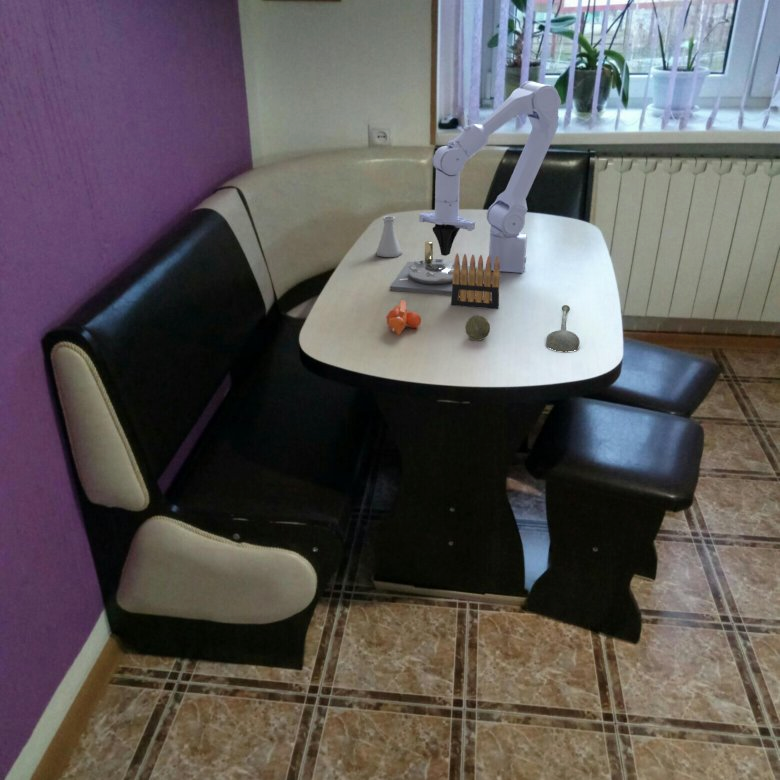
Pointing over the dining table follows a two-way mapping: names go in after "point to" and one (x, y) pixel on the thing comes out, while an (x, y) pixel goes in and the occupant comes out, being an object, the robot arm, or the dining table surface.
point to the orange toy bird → (402, 318)
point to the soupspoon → (563, 336)
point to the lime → (477, 327)
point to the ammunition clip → (476, 284)
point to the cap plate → (420, 284)
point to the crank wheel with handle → (432, 268)
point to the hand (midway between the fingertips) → (445, 254)
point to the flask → (388, 240)
